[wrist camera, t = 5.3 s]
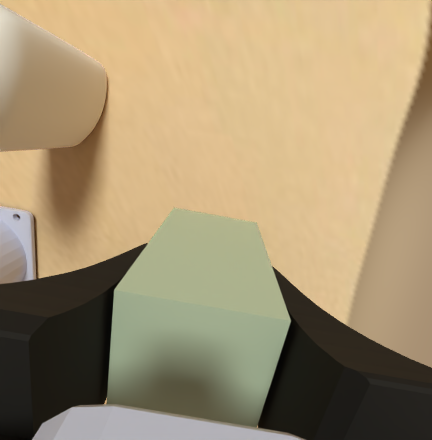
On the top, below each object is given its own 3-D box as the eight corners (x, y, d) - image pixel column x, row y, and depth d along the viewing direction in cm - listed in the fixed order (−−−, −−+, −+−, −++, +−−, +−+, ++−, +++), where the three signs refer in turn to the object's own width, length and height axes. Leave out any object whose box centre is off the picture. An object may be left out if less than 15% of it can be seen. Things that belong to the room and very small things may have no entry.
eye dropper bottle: (23, 94, 17) (-403, 6, 5) (90, 41, 16) (-264, -203, 4) (66, 154, 18) (-213, 186, 7) (132, 109, 17) (-64, 52, 5)
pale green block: (164, 280, 14) (105, 417, 7) (174, 207, 12) (114, 290, 6) (239, 293, 14) (252, 441, 7) (256, 222, 13) (290, 320, 6)
